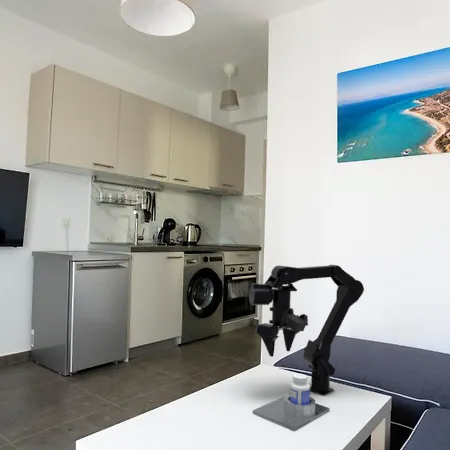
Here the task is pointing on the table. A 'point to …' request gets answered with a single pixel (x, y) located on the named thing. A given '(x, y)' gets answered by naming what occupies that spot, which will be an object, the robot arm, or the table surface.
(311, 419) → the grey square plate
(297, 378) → the pill bottle
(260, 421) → the table surface
